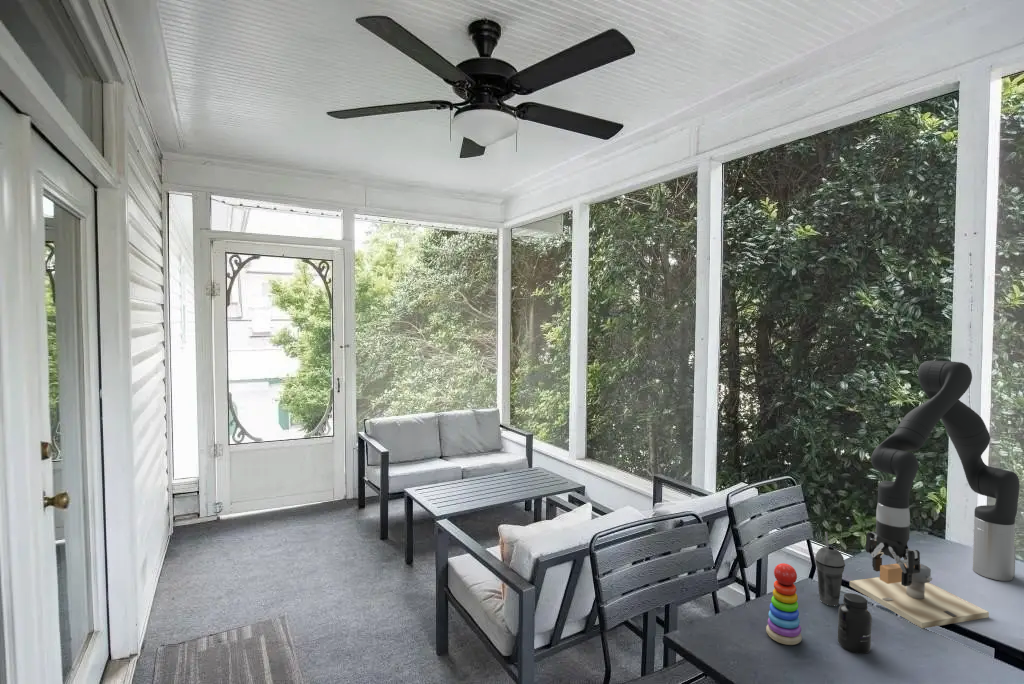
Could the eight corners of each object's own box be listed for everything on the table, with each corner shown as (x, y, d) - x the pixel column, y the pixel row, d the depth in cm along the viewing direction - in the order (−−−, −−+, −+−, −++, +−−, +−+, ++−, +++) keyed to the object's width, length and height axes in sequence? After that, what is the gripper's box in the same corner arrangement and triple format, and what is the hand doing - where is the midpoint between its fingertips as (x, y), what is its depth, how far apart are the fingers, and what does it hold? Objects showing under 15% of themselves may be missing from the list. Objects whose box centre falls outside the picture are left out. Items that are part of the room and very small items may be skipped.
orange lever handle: (910, 569, 152) (911, 555, 152) (940, 583, 144) (940, 569, 144) (870, 574, 149) (870, 560, 149) (897, 589, 141) (898, 574, 141)
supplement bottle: (871, 658, 123) (873, 608, 122) (837, 648, 126) (838, 600, 126) (870, 643, 129) (871, 595, 128) (837, 634, 132) (838, 587, 132)
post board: (909, 577, 161) (910, 556, 160) (988, 617, 139) (989, 593, 139) (849, 585, 156) (850, 564, 156) (922, 628, 134) (922, 603, 134)
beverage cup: (850, 609, 143) (851, 537, 143) (823, 609, 144) (824, 537, 143) (834, 595, 151) (835, 526, 150) (808, 595, 151) (810, 526, 150)
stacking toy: (758, 631, 133) (759, 559, 133) (781, 624, 136) (783, 554, 136) (785, 649, 126) (786, 573, 125) (809, 642, 129) (810, 567, 128)
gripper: (929, 529, 138) (927, 589, 139) (880, 510, 152) (879, 564, 153) (906, 531, 137) (904, 592, 138) (859, 512, 151) (857, 567, 151)
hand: (891, 577), depth 145 cm, fingers open, 8 cm apart
